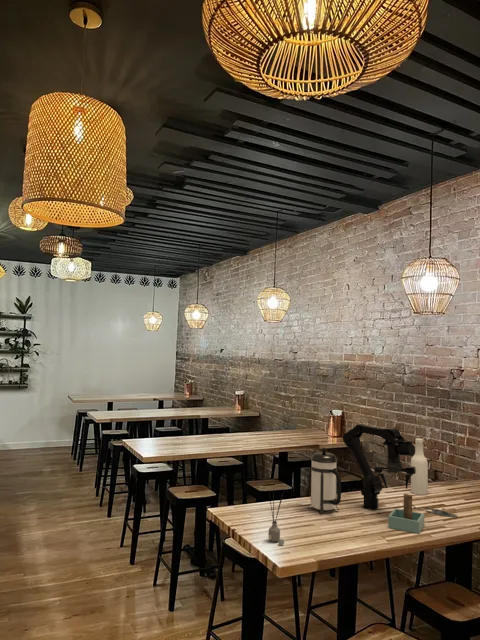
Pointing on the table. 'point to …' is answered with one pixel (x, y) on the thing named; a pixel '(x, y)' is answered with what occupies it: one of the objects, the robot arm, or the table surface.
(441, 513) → the driftwood
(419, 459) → the alcohol
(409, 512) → the brown tower block
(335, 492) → the coffee press
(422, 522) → the green square tray
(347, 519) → the table surface
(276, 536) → the reed diffuser
